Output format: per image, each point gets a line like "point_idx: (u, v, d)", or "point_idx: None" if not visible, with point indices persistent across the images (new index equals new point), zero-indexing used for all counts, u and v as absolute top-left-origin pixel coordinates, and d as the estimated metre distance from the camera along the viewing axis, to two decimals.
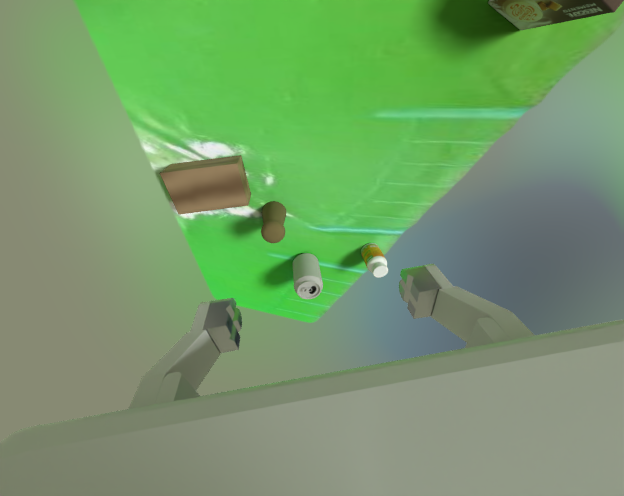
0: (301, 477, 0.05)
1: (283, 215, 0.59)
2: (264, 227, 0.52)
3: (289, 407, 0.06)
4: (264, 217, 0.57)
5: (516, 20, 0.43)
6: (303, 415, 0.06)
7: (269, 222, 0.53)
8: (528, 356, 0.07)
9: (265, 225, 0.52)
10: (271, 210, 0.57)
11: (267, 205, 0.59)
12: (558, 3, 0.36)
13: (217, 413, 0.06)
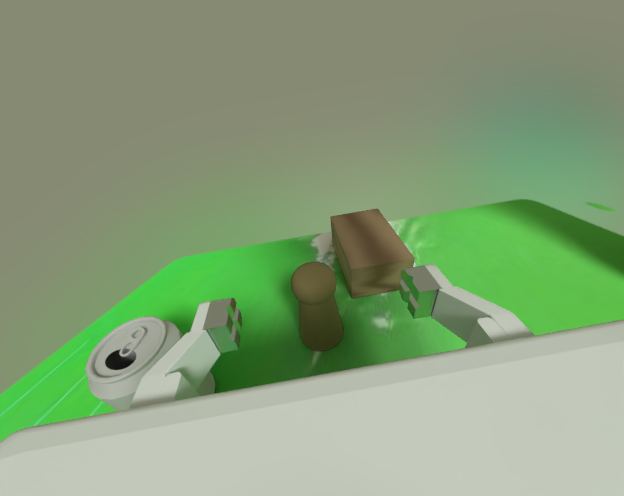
0: (301, 477, 0.05)
1: (327, 329, 0.30)
2: None
3: (289, 407, 0.06)
4: None
5: None
6: (303, 415, 0.06)
7: (334, 275, 0.28)
8: (528, 356, 0.07)
9: None
10: (337, 308, 0.32)
11: None
12: None
13: (217, 414, 0.06)
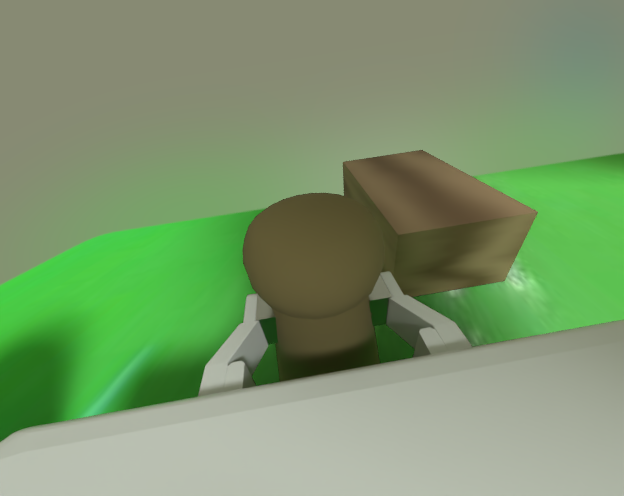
0: (301, 477, 0.05)
1: None
2: None
3: (289, 407, 0.06)
4: None
5: None
6: (303, 415, 0.06)
7: None
8: (528, 356, 0.07)
9: None
10: None
11: None
12: None
13: (217, 414, 0.06)
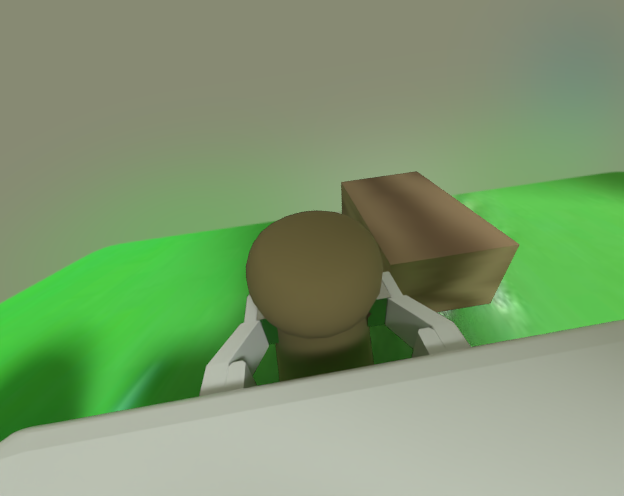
0: (301, 477, 0.05)
1: None
2: None
3: (289, 407, 0.06)
4: None
5: None
6: (303, 415, 0.06)
7: None
8: (528, 356, 0.07)
9: None
10: None
11: None
12: None
13: (217, 414, 0.06)
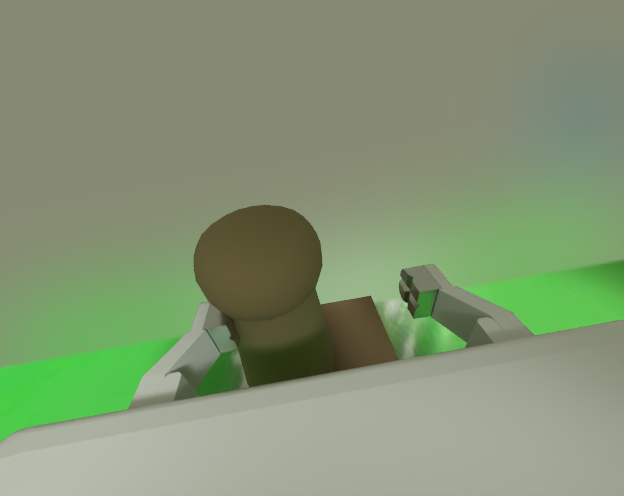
0: (301, 477, 0.05)
1: (293, 372, 0.12)
2: None
3: (289, 407, 0.06)
4: None
5: None
6: (303, 415, 0.06)
7: (319, 243, 0.10)
8: (528, 356, 0.07)
9: None
10: (324, 321, 0.14)
11: None
12: None
13: (217, 413, 0.06)
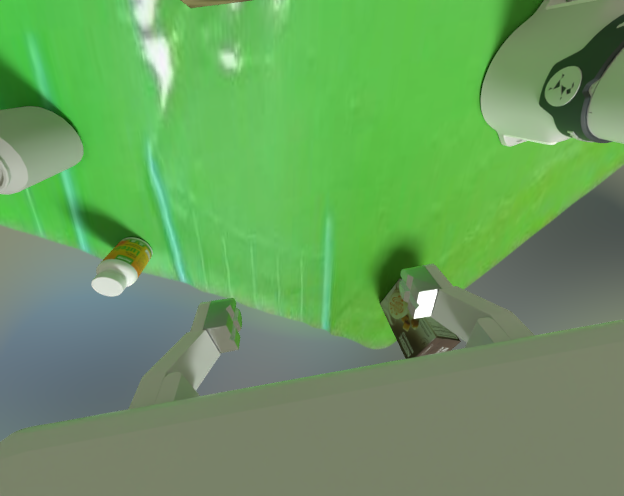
0: (301, 477, 0.05)
1: None
2: None
3: (289, 407, 0.06)
4: None
5: (388, 300, 0.59)
6: (303, 415, 0.06)
7: None
8: (528, 356, 0.07)
9: None
10: None
11: None
12: (408, 328, 0.50)
13: (217, 413, 0.06)
